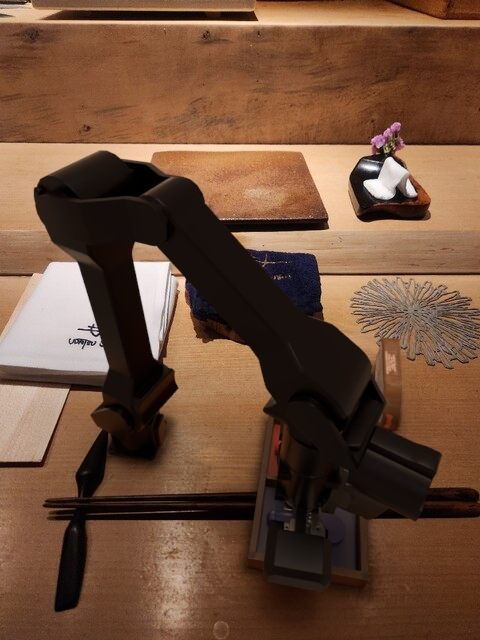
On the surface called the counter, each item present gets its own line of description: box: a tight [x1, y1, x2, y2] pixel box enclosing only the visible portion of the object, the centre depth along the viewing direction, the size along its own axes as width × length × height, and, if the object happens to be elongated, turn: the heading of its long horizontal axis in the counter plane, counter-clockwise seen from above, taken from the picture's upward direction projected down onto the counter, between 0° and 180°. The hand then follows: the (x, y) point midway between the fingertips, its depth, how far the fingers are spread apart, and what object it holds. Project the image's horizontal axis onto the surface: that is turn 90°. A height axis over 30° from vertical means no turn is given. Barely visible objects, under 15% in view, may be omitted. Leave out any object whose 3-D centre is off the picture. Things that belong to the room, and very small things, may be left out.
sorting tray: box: [246, 415, 370, 589], centre depth 58 cm, size 13×20×3 cm, turn 171°
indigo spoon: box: [266, 510, 346, 546], centre depth 54 cm, size 9×3×2 cm, turn 80°
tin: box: [374, 337, 405, 433], centre depth 67 cm, size 15×3×8 cm, turn 168°
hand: (294, 522), depth 54 cm, fingers open, 5 cm apart
